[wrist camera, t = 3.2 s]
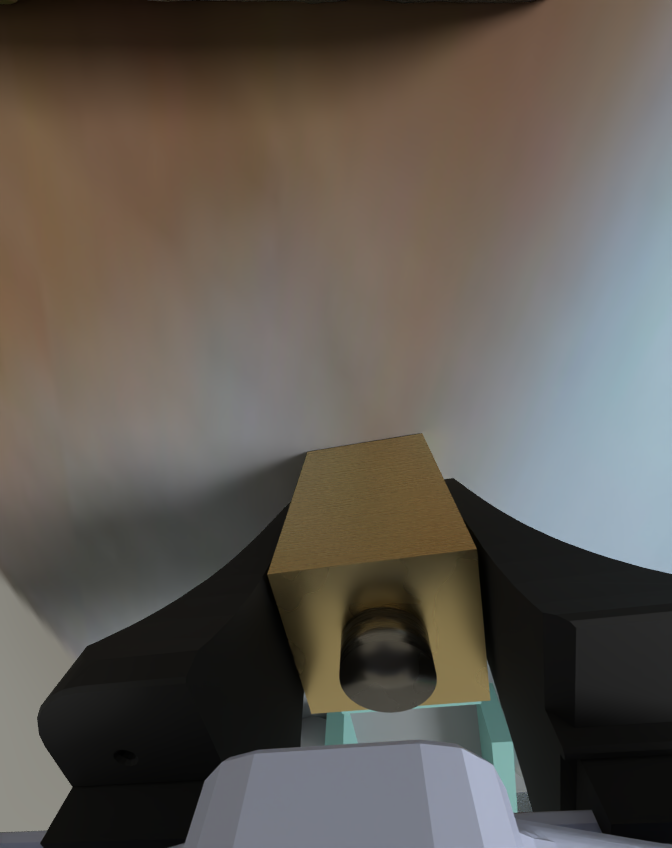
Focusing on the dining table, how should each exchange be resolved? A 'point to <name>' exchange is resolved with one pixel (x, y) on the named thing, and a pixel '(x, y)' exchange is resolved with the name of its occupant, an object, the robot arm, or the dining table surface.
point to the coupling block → (380, 582)
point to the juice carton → (314, 0)
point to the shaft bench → (427, 731)
